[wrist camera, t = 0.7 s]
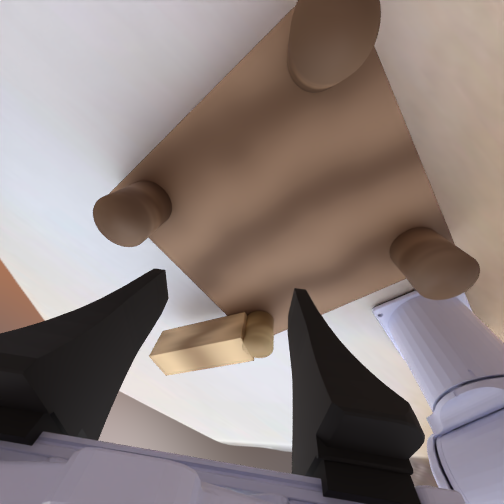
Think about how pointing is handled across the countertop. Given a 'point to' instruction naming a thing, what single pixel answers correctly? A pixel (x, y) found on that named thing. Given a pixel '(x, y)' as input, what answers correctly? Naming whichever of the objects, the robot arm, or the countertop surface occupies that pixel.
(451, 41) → the countertop surface
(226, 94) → the stool seat
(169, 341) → the oak leg
